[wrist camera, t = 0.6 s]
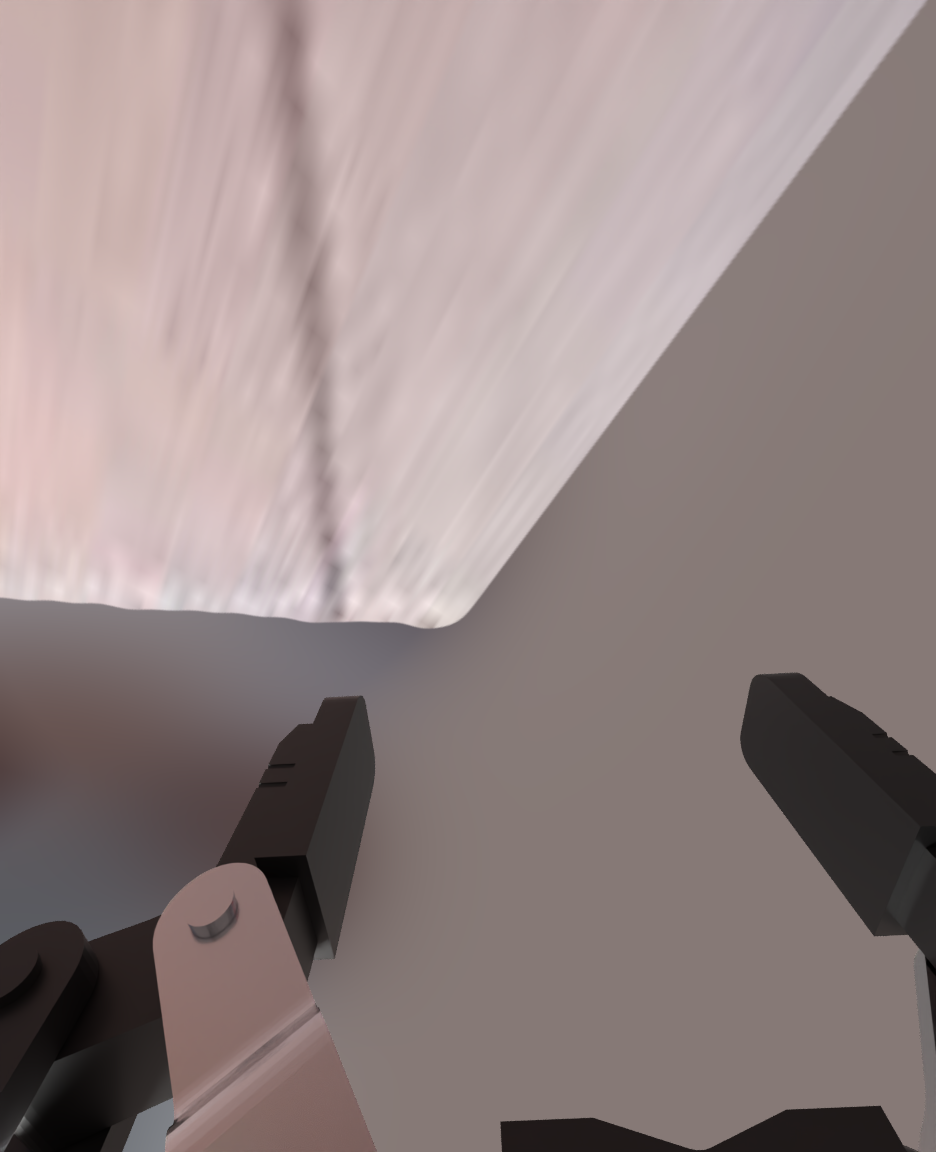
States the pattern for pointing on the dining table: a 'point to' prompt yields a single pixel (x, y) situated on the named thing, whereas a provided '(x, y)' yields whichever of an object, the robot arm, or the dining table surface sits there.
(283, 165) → the dining table surface
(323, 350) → the dining table surface
